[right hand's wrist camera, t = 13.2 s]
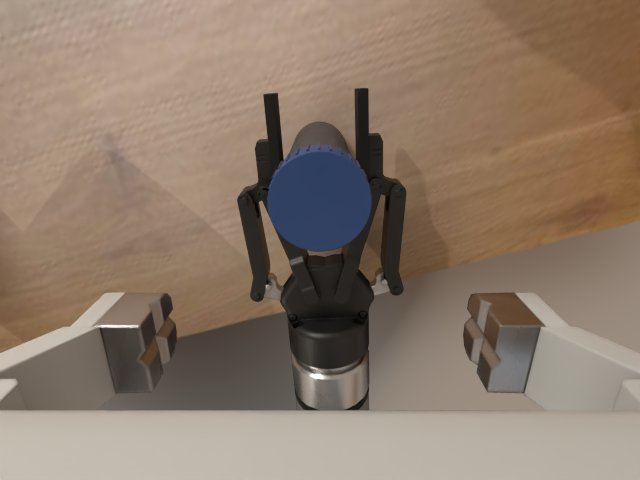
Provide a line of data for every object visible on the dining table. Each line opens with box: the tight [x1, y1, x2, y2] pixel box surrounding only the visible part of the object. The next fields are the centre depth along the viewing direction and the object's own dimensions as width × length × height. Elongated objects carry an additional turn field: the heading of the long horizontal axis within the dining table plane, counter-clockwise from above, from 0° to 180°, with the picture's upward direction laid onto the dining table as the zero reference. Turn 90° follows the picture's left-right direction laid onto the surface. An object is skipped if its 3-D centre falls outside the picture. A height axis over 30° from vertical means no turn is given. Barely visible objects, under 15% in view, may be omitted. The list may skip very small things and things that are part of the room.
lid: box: [267, 143, 372, 252], centre depth 21 cm, size 5×5×2 cm
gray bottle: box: [290, 122, 350, 154], centre depth 29 cm, size 5×5×18 cm
